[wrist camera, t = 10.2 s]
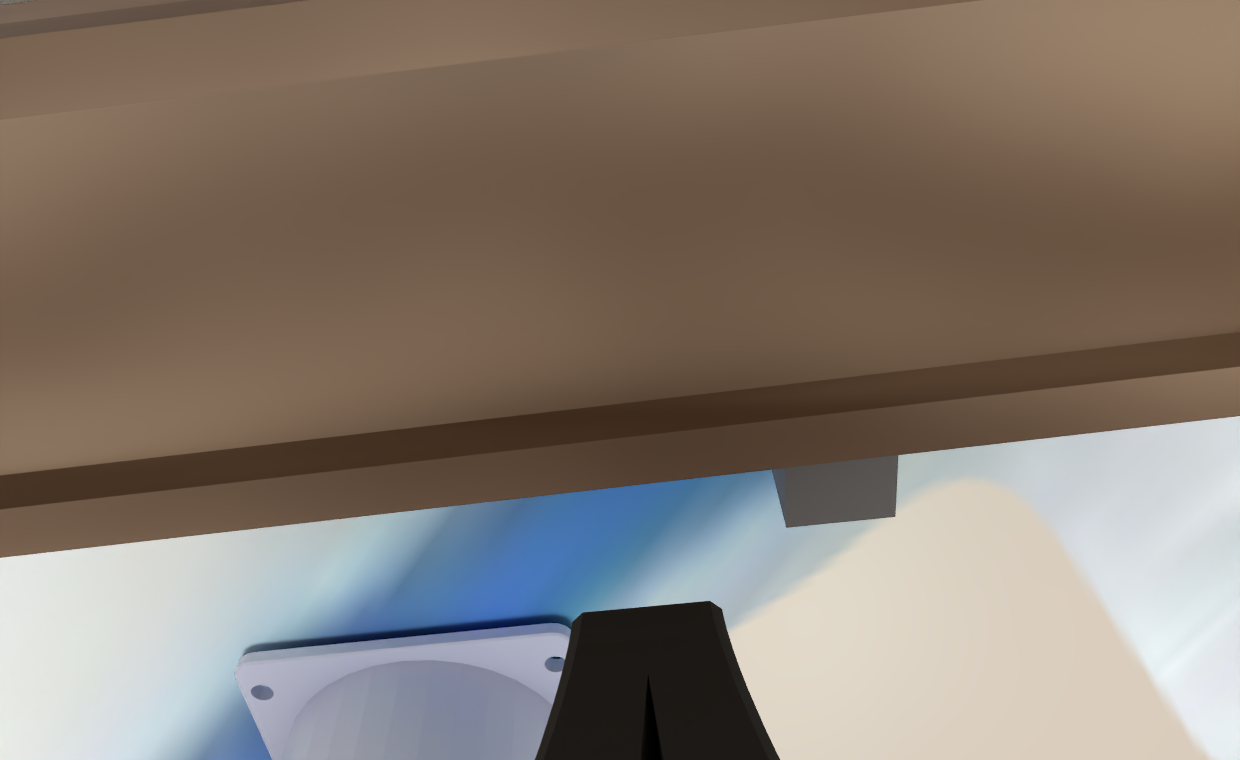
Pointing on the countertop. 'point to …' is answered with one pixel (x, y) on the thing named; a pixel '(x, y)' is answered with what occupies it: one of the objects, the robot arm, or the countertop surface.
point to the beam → (589, 245)
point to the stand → (838, 491)
